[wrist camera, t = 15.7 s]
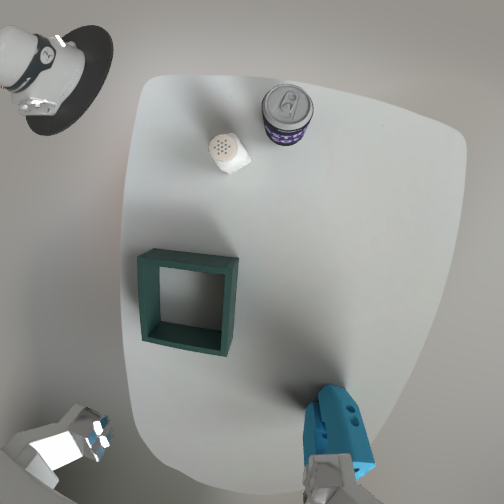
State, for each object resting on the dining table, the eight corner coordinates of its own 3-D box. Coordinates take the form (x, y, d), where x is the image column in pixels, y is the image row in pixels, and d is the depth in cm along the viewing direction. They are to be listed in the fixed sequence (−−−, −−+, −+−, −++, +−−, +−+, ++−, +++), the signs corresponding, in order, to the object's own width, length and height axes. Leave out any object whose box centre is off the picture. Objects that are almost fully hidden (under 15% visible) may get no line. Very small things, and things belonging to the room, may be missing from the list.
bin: (156, 324, 46) (142, 340, 40) (154, 248, 43) (137, 256, 37) (232, 337, 45) (226, 357, 39) (238, 257, 42) (232, 268, 36)
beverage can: (259, 137, 38) (252, 116, 26) (274, 105, 36) (273, 73, 25) (295, 153, 38) (302, 137, 26) (310, 120, 36) (322, 93, 25)
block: (319, 421, 48) (329, 498, 29) (299, 416, 48) (303, 495, 28) (352, 383, 45) (378, 463, 26) (331, 376, 45) (351, 461, 26)
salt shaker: (253, 161, 39) (246, 151, 29) (230, 175, 39) (216, 170, 30) (239, 139, 38) (228, 124, 29) (216, 153, 39) (198, 142, 29)
